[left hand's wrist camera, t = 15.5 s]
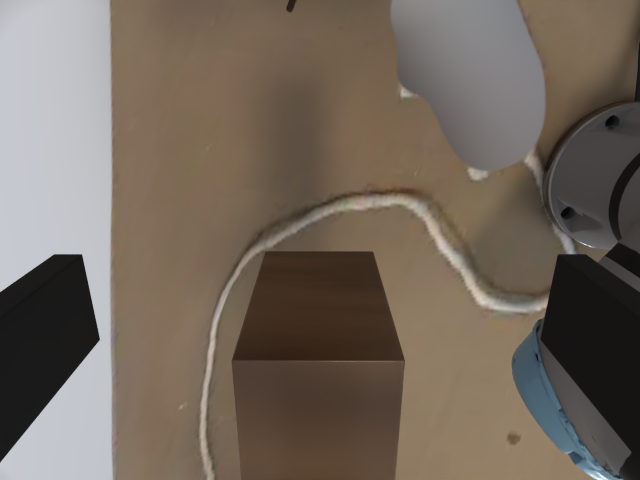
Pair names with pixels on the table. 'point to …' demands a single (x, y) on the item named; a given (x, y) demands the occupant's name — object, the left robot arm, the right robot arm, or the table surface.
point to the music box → (291, 5)
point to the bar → (318, 371)
